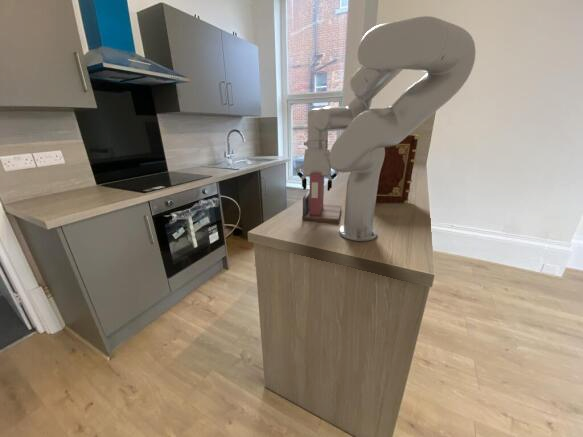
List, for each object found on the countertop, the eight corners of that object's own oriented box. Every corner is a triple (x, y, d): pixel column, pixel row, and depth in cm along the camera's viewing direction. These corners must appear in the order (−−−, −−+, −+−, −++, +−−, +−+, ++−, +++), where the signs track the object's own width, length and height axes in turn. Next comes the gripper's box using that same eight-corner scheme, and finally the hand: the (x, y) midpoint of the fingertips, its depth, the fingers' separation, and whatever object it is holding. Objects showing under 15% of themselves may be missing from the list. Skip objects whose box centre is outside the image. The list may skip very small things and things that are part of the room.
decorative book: (404, 198, 119) (415, 134, 108) (410, 203, 112) (422, 135, 101) (358, 198, 121) (363, 135, 110) (360, 203, 114) (367, 136, 103)
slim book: (319, 215, 95) (320, 174, 89) (309, 214, 95) (309, 174, 90) (323, 205, 105) (324, 168, 100) (314, 204, 106) (314, 168, 100)
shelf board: (338, 223, 91) (338, 219, 91) (302, 221, 95) (302, 216, 94) (341, 209, 106) (341, 205, 105) (309, 207, 109) (309, 203, 108)
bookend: (305, 215, 94) (305, 198, 92) (302, 215, 95) (302, 198, 92) (311, 204, 107) (312, 189, 104) (309, 204, 107) (309, 189, 105)
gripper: (292, 145, 89) (293, 190, 95) (340, 145, 85) (337, 192, 91) (297, 144, 96) (297, 186, 102) (341, 144, 92) (339, 188, 98)
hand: (316, 189), depth 97 cm, fingers open, 9 cm apart
